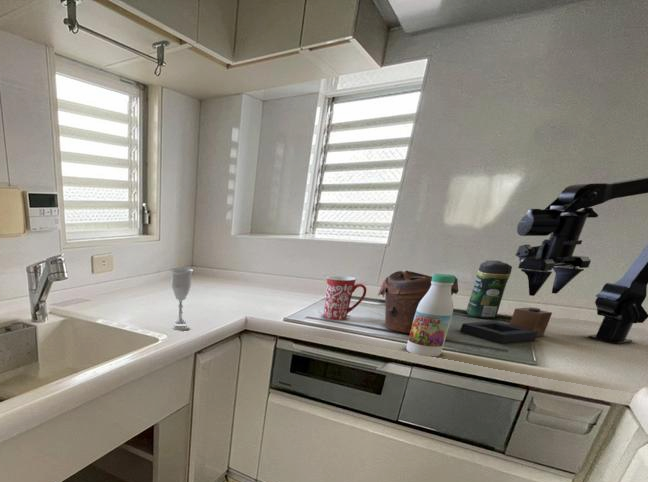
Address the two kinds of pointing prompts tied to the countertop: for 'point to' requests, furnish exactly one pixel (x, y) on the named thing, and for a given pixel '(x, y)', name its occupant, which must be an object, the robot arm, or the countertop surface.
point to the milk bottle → (432, 318)
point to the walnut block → (531, 319)
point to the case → (405, 297)
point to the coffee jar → (488, 289)
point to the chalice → (181, 290)
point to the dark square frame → (498, 331)
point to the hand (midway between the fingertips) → (543, 294)
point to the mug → (340, 296)
